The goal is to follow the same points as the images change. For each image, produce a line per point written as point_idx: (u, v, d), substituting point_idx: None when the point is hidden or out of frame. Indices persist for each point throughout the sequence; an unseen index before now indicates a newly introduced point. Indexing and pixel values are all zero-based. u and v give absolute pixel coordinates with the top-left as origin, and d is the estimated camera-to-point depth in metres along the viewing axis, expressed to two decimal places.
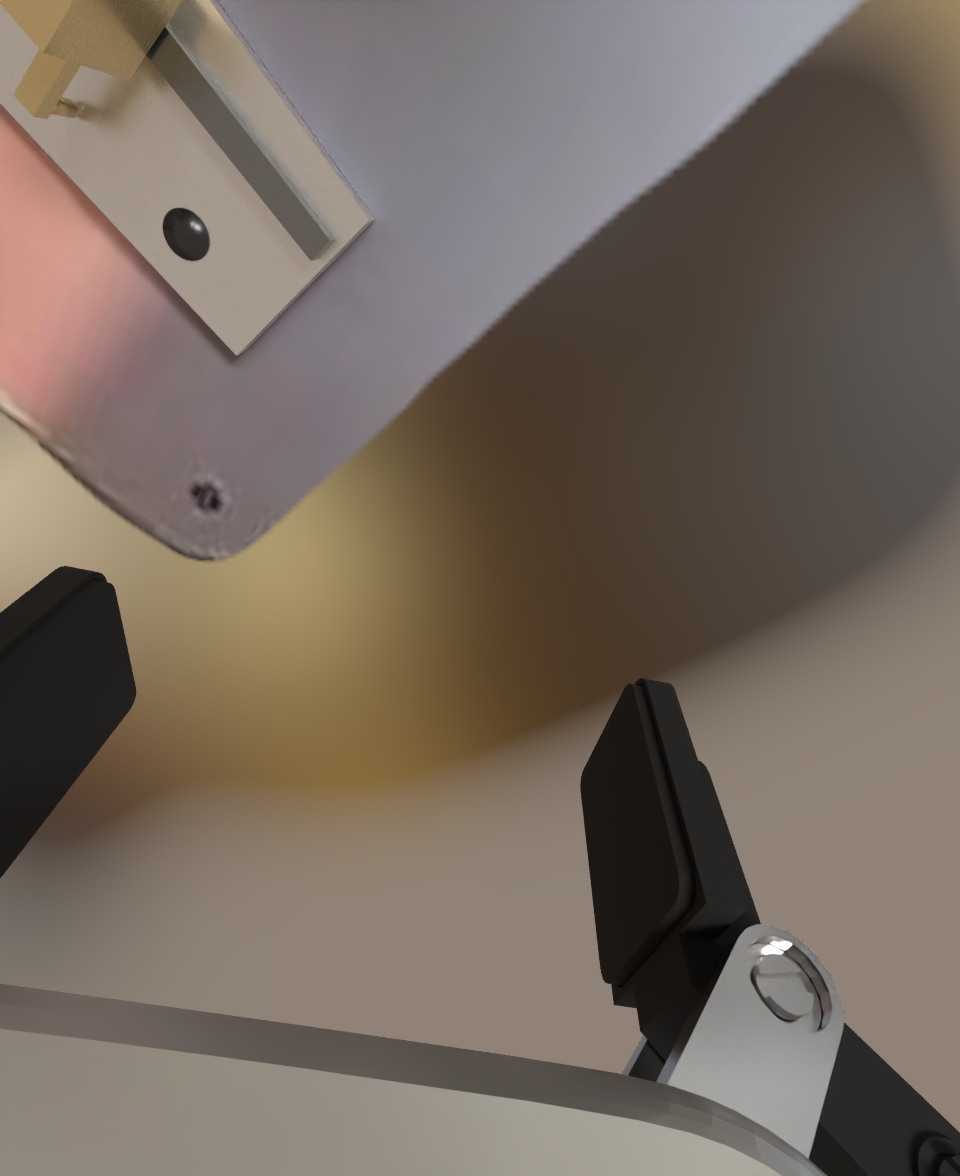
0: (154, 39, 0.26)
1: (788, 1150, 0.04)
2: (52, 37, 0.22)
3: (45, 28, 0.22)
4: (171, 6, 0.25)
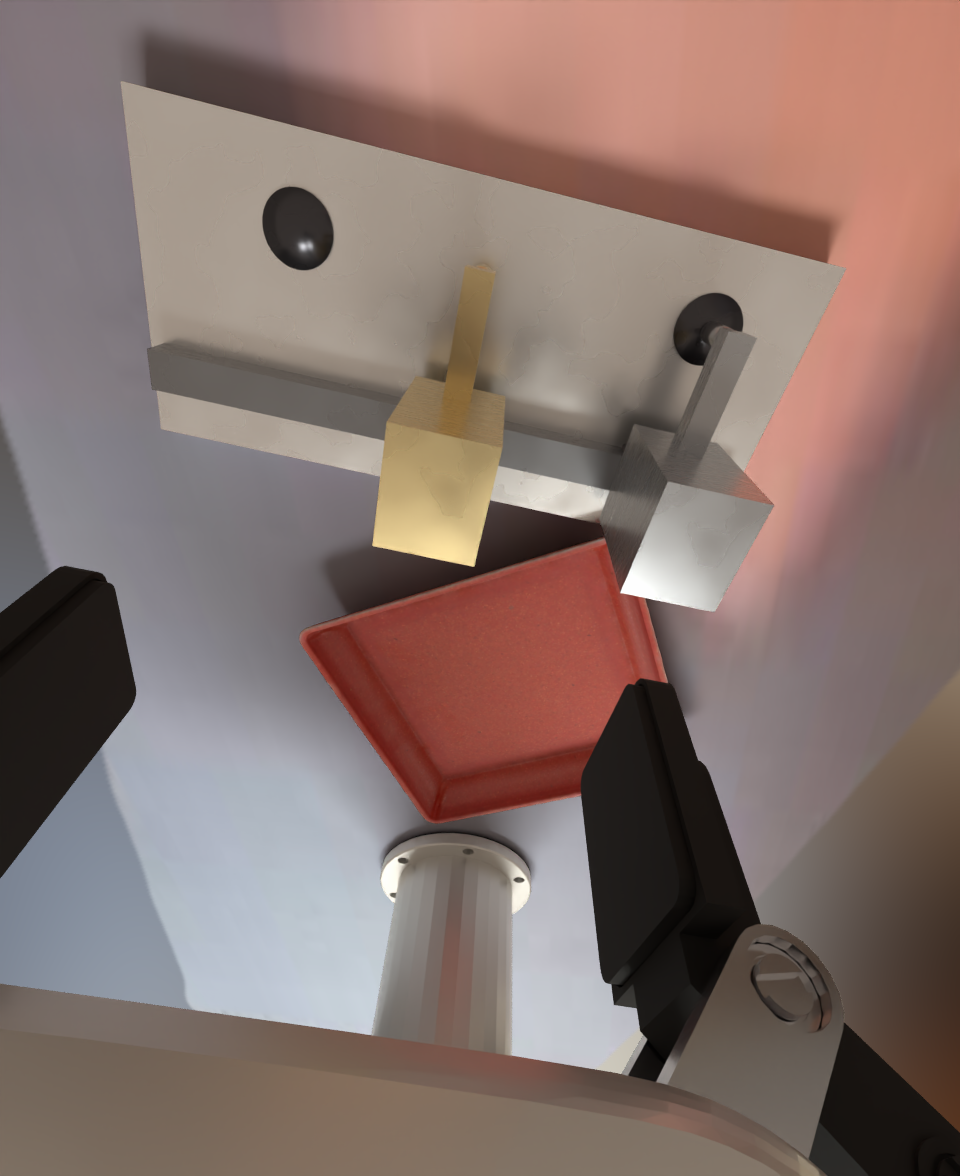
0: None
1: (788, 1151, 0.04)
2: (384, 444, 0.17)
3: (392, 447, 0.17)
4: None
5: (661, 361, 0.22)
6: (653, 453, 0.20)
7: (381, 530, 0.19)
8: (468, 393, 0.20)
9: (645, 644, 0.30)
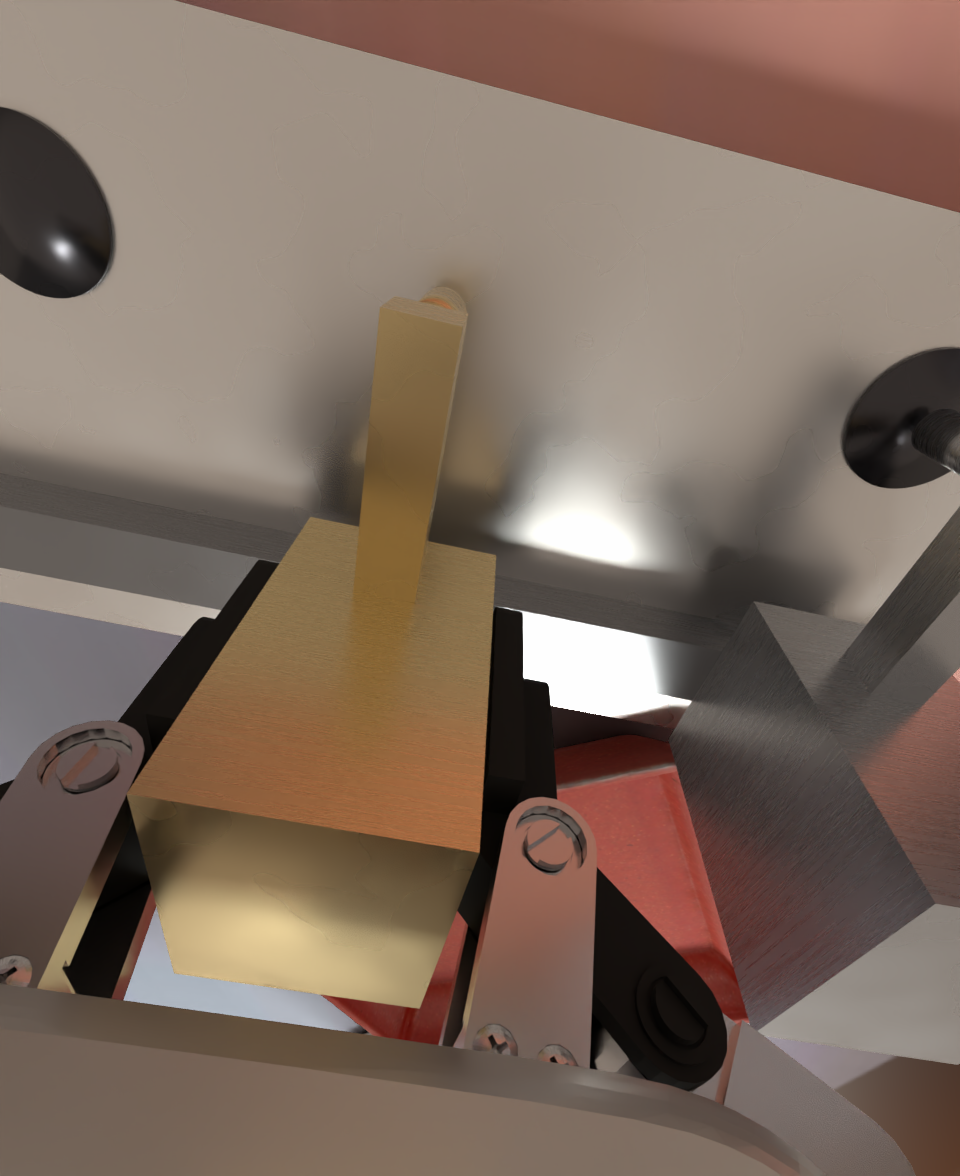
0: None
1: (788, 1150, 0.04)
2: (139, 829, 0.06)
3: (163, 839, 0.06)
4: None
5: (811, 479, 0.11)
6: (835, 731, 0.09)
7: (187, 955, 0.08)
8: (409, 586, 0.09)
9: None
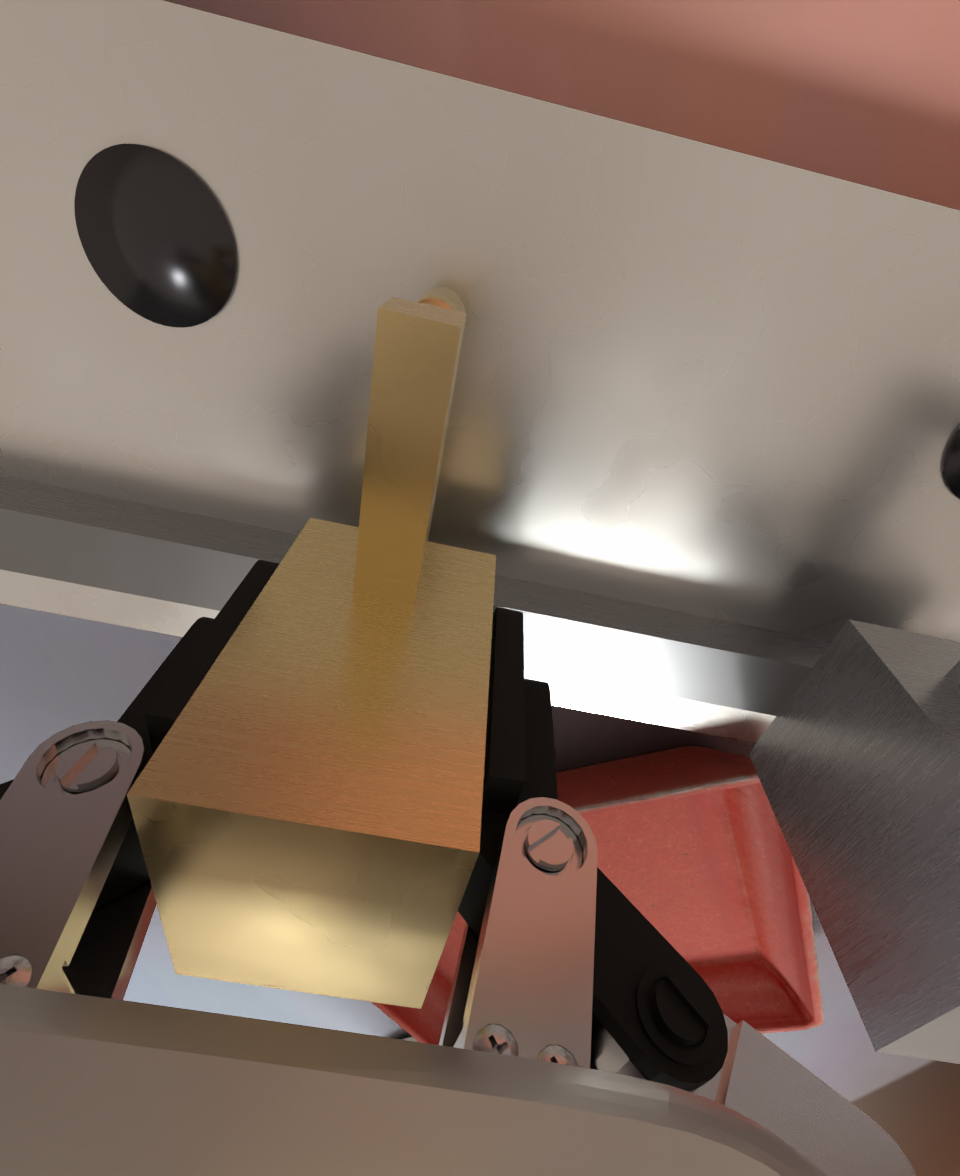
0: None
1: (787, 1150, 0.04)
2: (140, 829, 0.06)
3: (164, 839, 0.06)
4: None
5: (907, 499, 0.11)
6: None
7: (188, 956, 0.08)
8: (409, 586, 0.09)
9: (783, 888, 0.19)
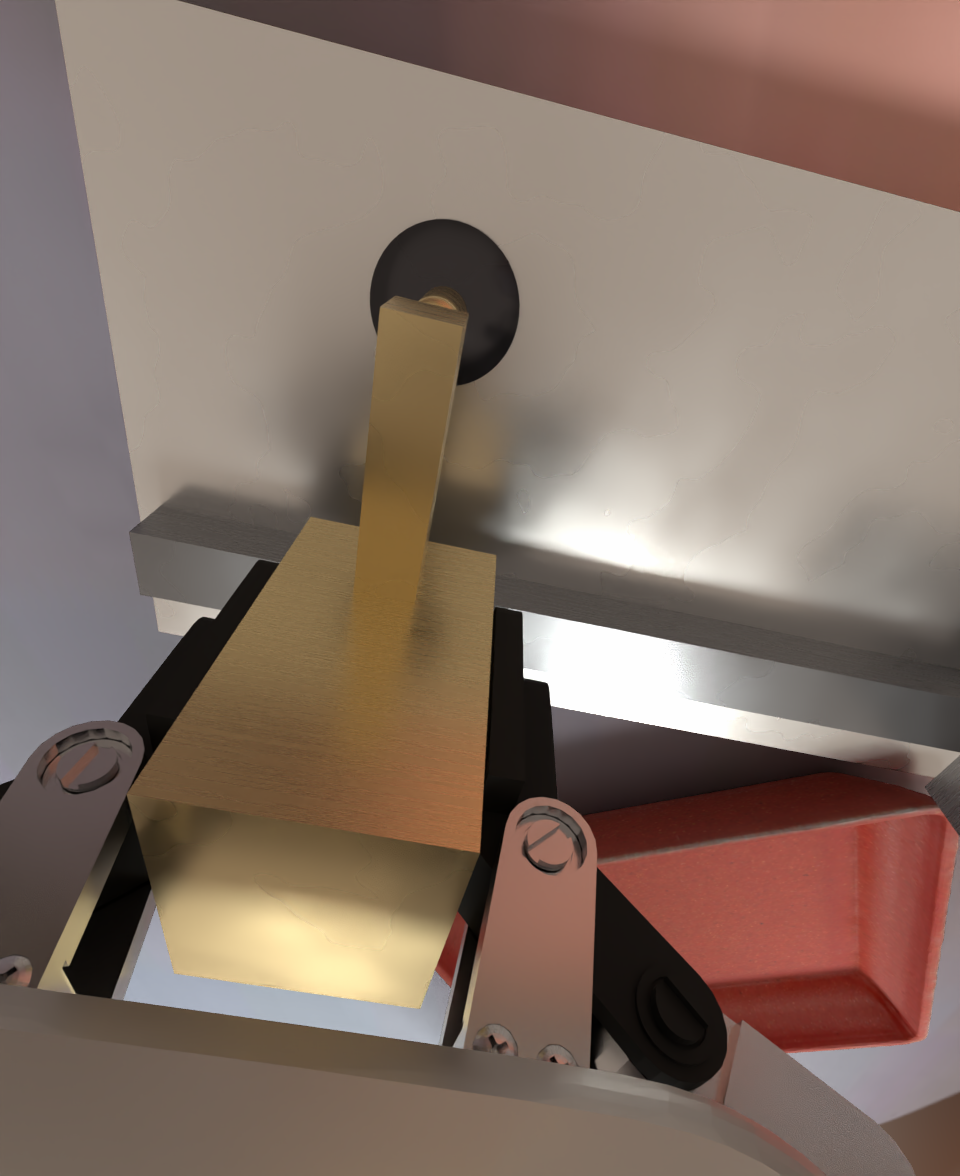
0: None
1: (788, 1150, 0.04)
2: (140, 829, 0.06)
3: (164, 839, 0.06)
4: None
5: None
6: None
7: (187, 956, 0.08)
8: (410, 586, 0.09)
9: (912, 910, 0.19)
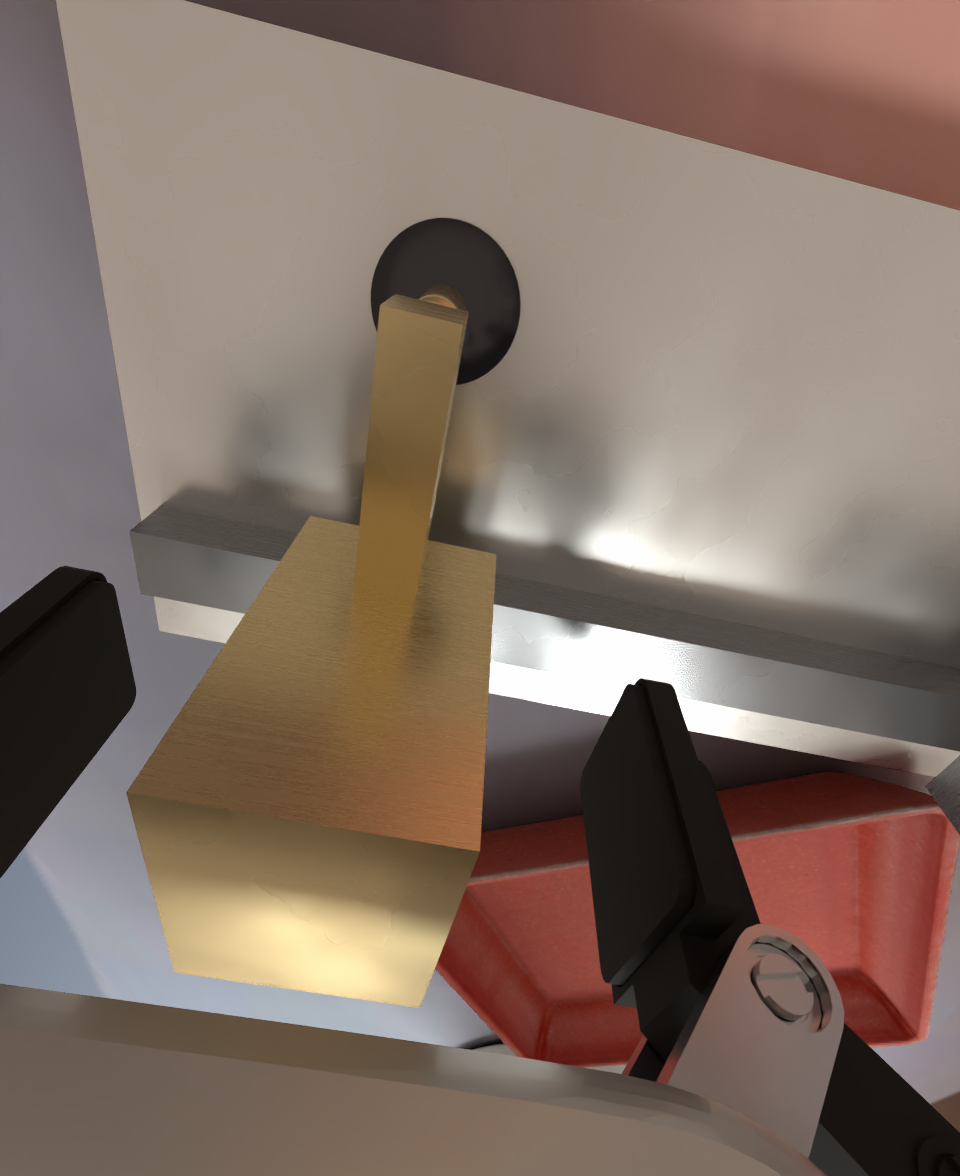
0: None
1: (788, 1150, 0.04)
2: (138, 828, 0.06)
3: (163, 838, 0.06)
4: None
5: None
6: None
7: (187, 954, 0.08)
8: (409, 585, 0.09)
9: (912, 910, 0.19)
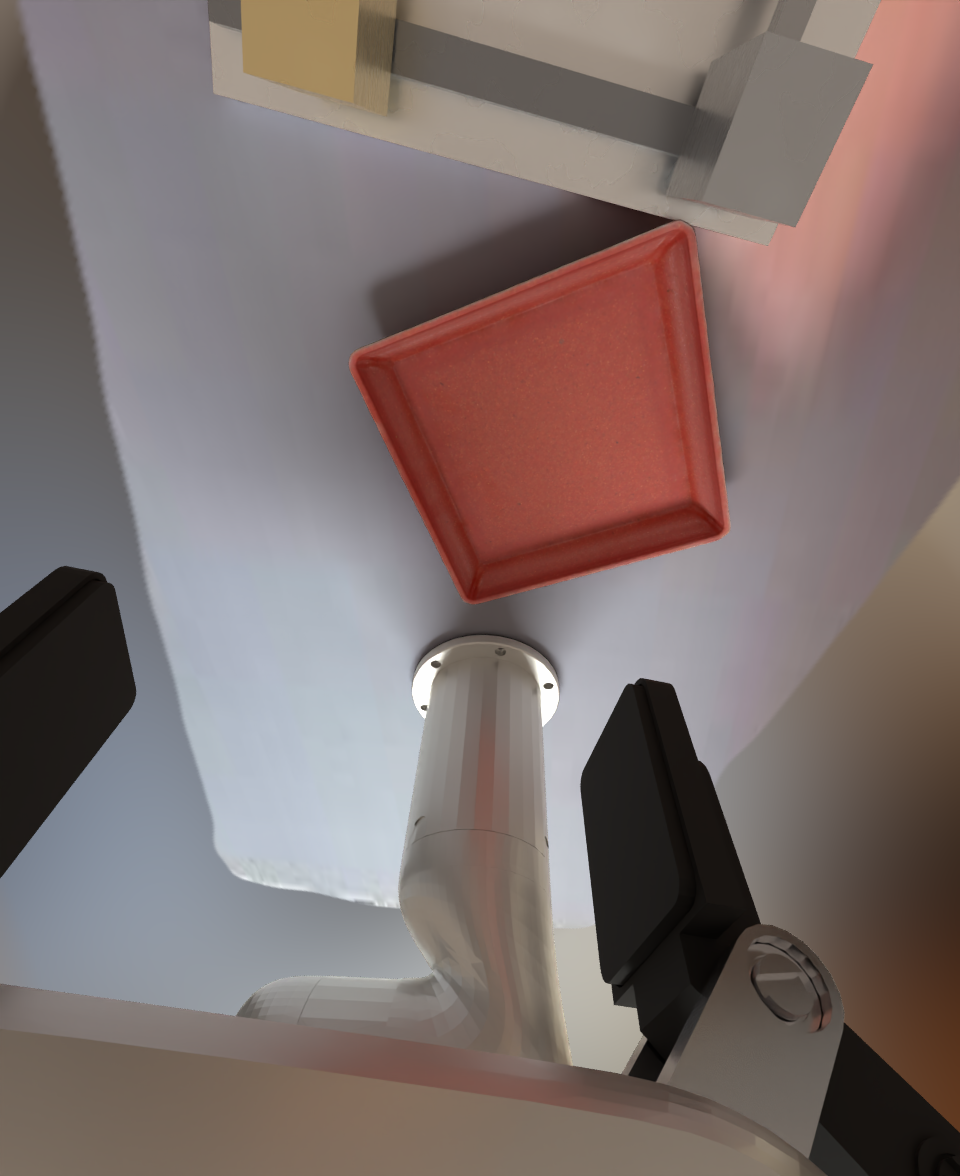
0: None
1: (788, 1150, 0.04)
2: None
3: None
4: None
5: None
6: (741, 46, 0.19)
7: (250, 46, 0.18)
8: None
9: (697, 374, 0.30)
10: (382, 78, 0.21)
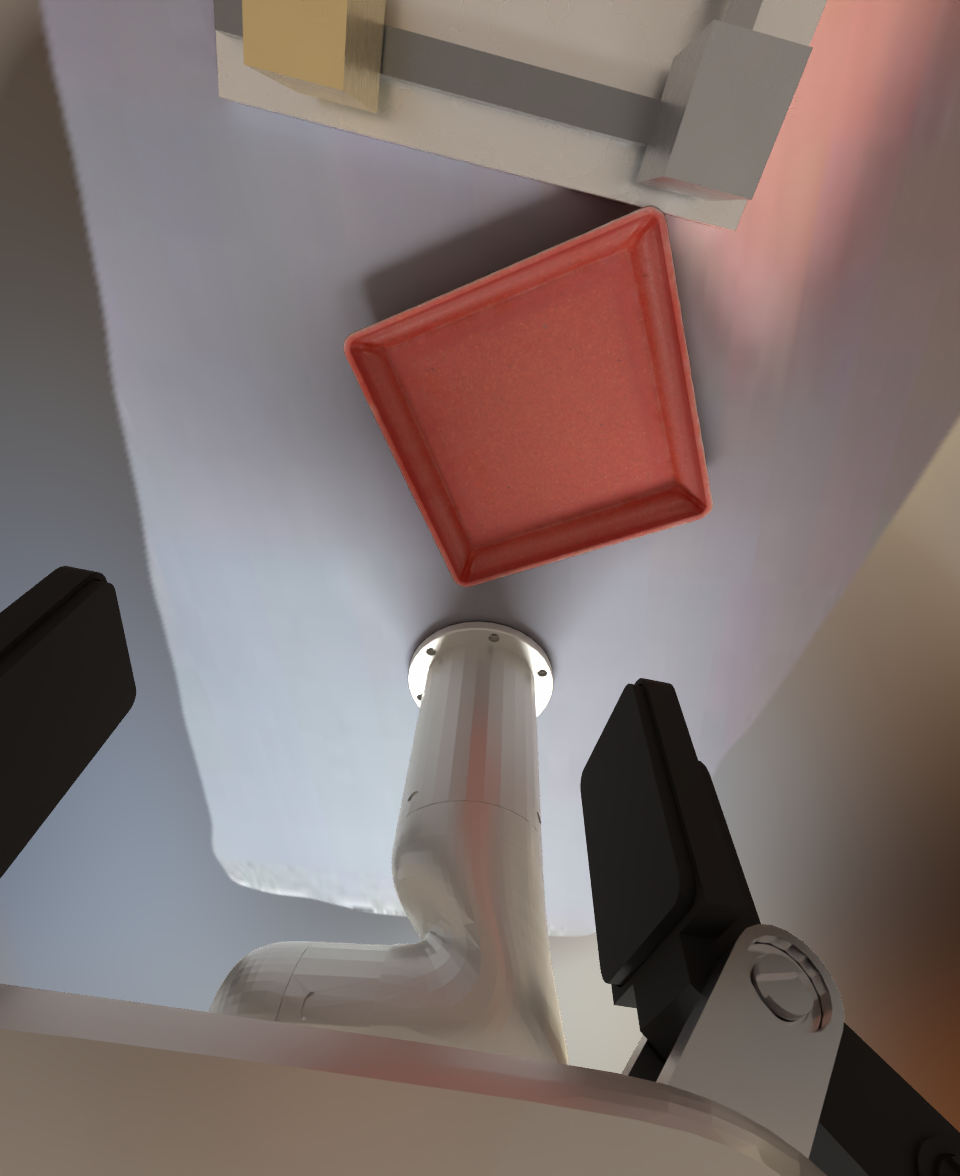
0: None
1: (788, 1150, 0.04)
2: None
3: None
4: None
5: None
6: (696, 38, 0.21)
7: (250, 41, 0.20)
8: None
9: (674, 354, 0.31)
10: (371, 76, 0.23)
